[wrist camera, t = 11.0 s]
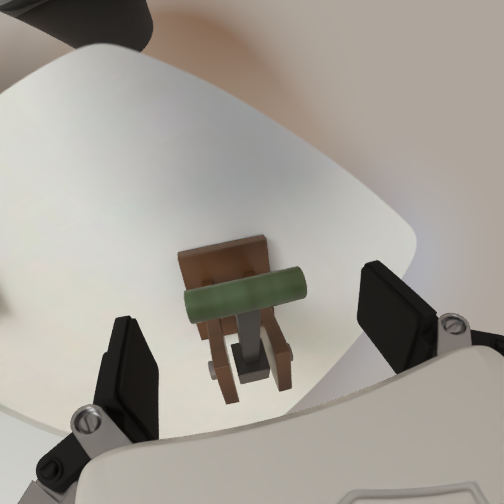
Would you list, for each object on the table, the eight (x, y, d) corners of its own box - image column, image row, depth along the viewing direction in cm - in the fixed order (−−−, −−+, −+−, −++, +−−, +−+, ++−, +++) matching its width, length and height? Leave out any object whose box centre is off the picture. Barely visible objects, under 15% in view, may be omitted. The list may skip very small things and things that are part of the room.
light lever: (180, 275, 12) (188, 326, 11) (294, 250, 13) (313, 297, 11) (216, 359, 22) (222, 388, 20) (278, 345, 22) (286, 372, 21)
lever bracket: (177, 252, 26) (178, 342, 16) (263, 234, 27) (312, 311, 17) (200, 333, 31) (214, 425, 21) (272, 317, 32) (310, 401, 22)
